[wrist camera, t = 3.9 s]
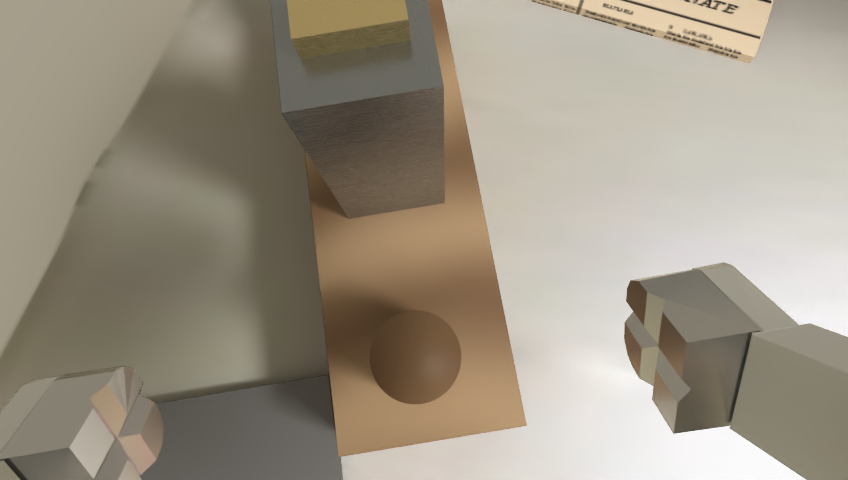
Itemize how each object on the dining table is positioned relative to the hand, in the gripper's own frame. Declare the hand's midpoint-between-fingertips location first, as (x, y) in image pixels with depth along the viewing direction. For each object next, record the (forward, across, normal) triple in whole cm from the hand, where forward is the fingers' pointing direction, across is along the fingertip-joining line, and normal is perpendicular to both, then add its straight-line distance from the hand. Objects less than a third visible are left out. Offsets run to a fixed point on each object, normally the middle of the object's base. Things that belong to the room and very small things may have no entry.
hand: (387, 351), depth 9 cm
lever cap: (+14, 0, +2) cm, 14 cm away
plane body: (+18, 0, +6) cm, 18 cm away
